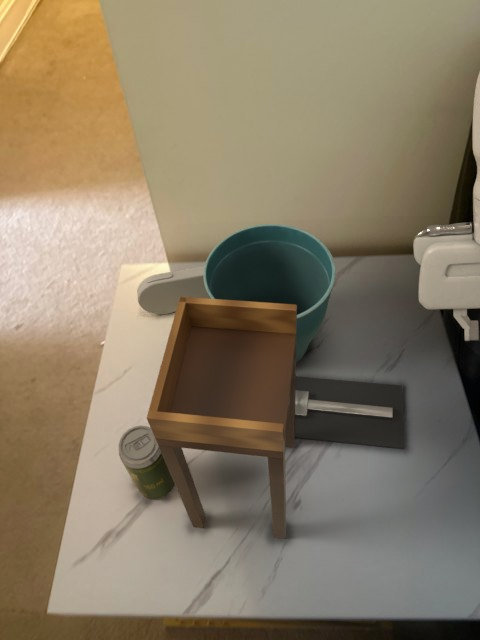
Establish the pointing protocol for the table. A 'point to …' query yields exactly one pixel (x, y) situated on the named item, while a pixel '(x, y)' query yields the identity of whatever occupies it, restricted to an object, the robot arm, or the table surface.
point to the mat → (352, 426)
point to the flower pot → (275, 273)
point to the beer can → (145, 462)
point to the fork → (338, 408)
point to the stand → (227, 391)
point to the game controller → (170, 289)
